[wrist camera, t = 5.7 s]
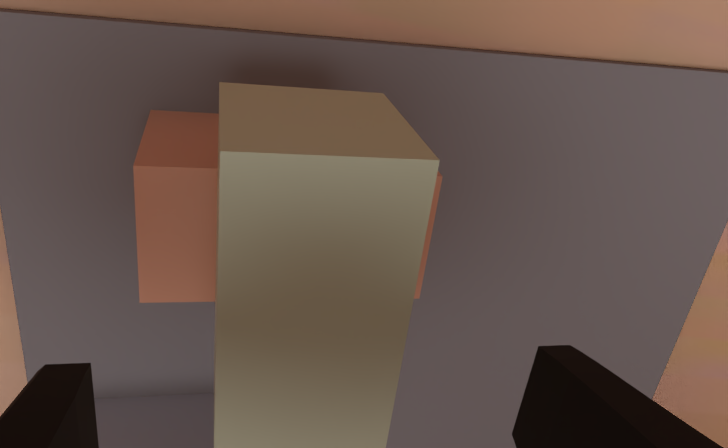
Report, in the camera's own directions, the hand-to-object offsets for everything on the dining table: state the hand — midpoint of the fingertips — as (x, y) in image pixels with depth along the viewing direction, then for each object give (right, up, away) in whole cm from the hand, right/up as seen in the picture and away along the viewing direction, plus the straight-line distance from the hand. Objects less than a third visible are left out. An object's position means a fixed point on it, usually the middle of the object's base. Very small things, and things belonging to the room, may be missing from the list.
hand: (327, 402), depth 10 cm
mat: (+2, 0, +12) cm, 12 cm away
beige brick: (-1, +3, +5) cm, 6 cm away
